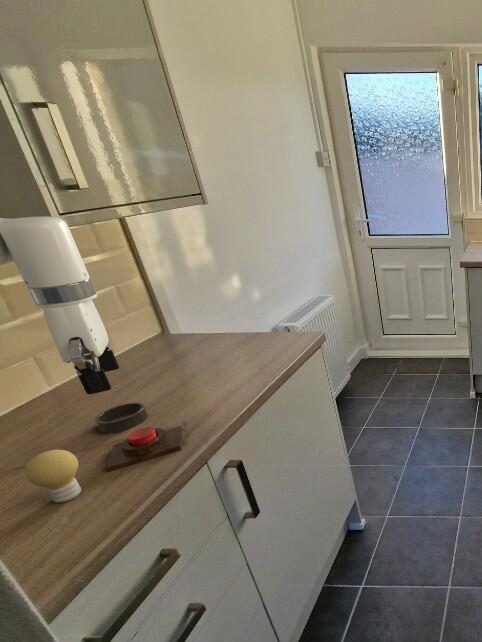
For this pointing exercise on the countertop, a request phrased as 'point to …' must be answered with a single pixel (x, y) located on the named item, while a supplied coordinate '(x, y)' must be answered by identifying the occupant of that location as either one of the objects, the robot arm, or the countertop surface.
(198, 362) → the countertop surface
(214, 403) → the countertop surface
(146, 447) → the switch block
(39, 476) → the light bulb
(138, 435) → the switch button
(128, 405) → the socket
